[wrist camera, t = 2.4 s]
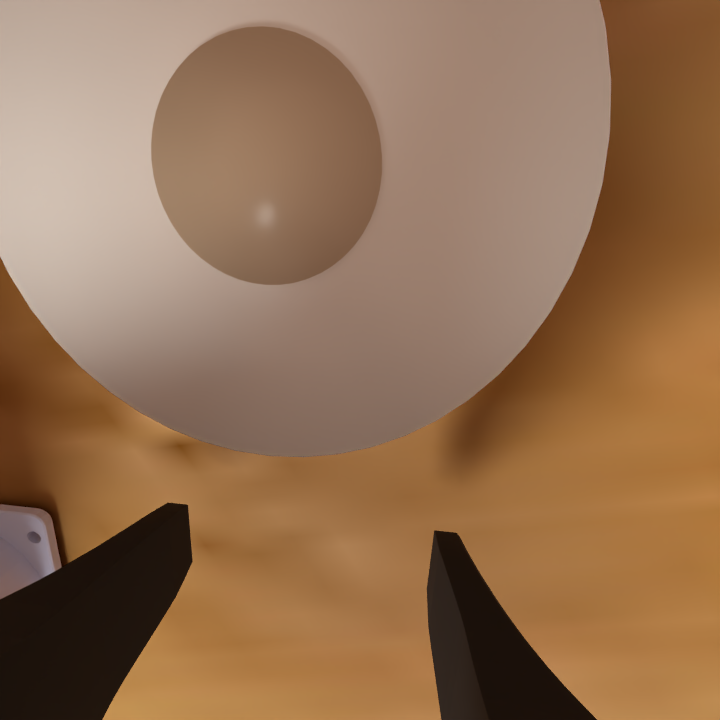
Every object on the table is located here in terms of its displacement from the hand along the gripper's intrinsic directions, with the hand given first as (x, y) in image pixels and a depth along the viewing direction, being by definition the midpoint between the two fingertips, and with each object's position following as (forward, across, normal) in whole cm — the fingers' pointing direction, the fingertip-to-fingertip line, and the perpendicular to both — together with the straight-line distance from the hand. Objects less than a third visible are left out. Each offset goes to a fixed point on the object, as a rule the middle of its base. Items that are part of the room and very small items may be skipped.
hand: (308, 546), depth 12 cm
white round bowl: (+2, 0, -9) cm, 10 cm away
